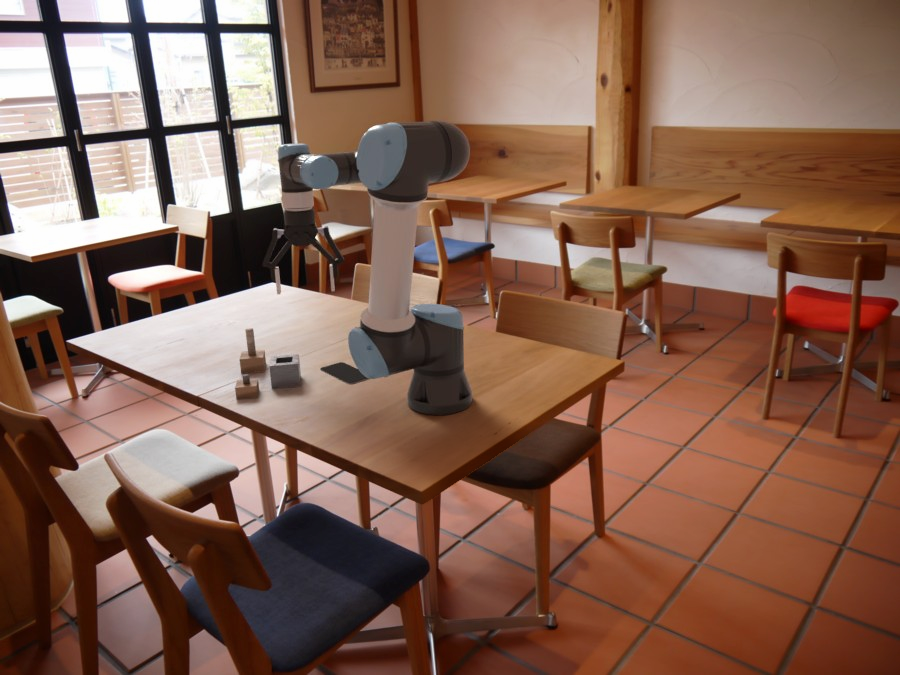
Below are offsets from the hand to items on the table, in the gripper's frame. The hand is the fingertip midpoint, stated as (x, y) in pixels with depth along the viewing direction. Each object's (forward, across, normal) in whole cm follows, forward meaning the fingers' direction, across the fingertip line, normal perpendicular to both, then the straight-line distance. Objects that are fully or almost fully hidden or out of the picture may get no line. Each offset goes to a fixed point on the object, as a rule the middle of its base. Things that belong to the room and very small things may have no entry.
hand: (306, 291), depth 190 cm
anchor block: (+21, +15, +15) cm, 30 cm away
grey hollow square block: (+21, +6, +9) cm, 24 cm away
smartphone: (+22, -9, +5) cm, 24 cm away
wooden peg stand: (+21, +16, -3) cm, 26 cm away
